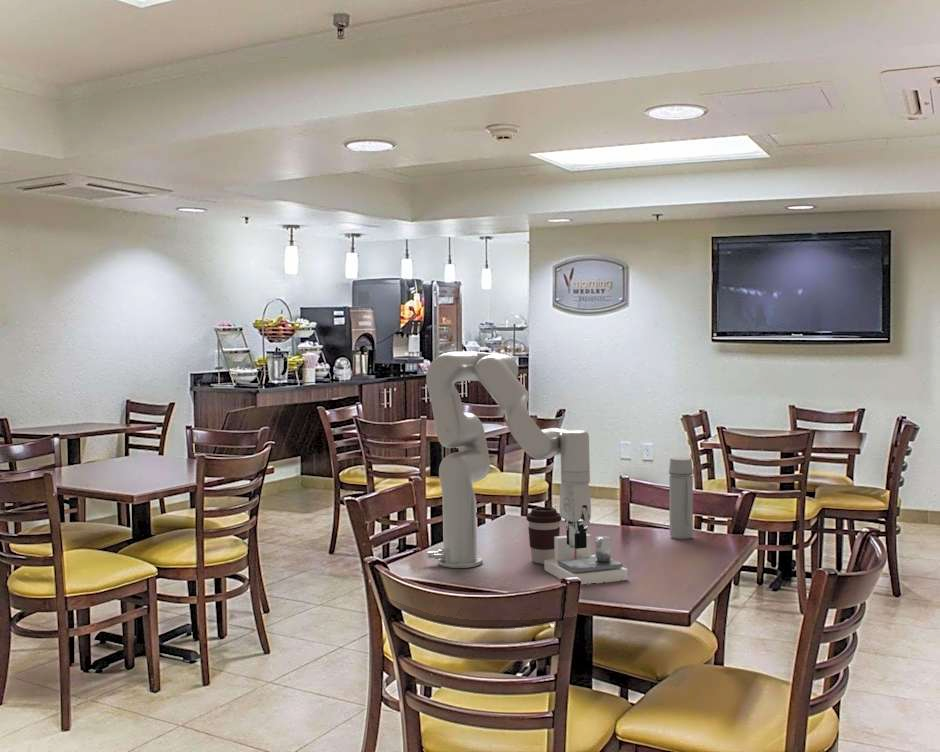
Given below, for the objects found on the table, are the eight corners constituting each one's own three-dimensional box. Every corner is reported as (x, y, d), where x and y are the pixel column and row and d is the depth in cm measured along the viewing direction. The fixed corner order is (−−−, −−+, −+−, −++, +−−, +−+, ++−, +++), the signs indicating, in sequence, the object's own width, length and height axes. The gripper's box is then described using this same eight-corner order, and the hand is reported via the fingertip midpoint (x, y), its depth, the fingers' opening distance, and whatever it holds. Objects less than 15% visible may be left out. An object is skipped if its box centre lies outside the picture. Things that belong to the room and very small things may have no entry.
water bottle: (664, 536, 290) (663, 457, 289) (686, 534, 292) (685, 456, 291) (679, 542, 281) (679, 461, 280) (701, 540, 283) (701, 460, 282)
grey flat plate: (574, 572, 235) (574, 568, 235) (557, 563, 244) (557, 560, 244) (622, 567, 239) (622, 563, 239) (604, 558, 249) (604, 555, 249)
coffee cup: (533, 566, 254) (533, 513, 253) (522, 558, 263) (521, 507, 263) (567, 563, 256) (566, 511, 256) (554, 555, 266) (554, 504, 265)
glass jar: (603, 562, 240) (603, 539, 240) (592, 560, 243) (592, 537, 243) (613, 560, 242) (613, 537, 243) (602, 558, 246) (602, 535, 246)
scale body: (572, 586, 233) (572, 551, 233) (544, 570, 250) (544, 537, 250) (627, 579, 239) (627, 545, 238) (596, 564, 255) (596, 532, 255)
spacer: (573, 549, 237) (572, 526, 237) (566, 545, 241) (566, 523, 241) (587, 547, 239) (586, 524, 239) (580, 544, 243) (579, 521, 242)
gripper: (549, 474, 246) (550, 541, 247) (576, 482, 230) (577, 554, 231) (574, 472, 248) (575, 538, 249) (603, 480, 233) (604, 551, 233)
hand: (576, 545), depth 240 cm, fingers closed on spacer, 4 cm apart
